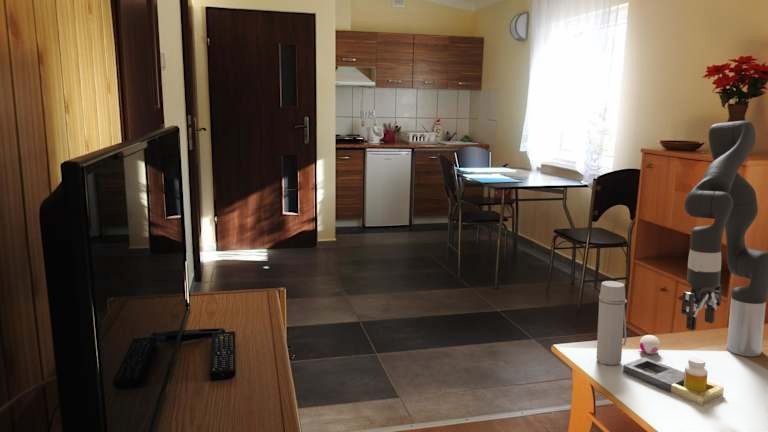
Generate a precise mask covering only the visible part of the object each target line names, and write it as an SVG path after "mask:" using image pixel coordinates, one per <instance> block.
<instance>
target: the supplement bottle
mask: <svg viewBox="0 0 768 432" xmlns="http://www.w3.org/2000/svg"><path fill="white" fill-rule="evenodd" d="M684 373H685V374H684V387H685V388H687V389H690V390H692V391H695V392H697V393H699V394H701V393H703V392H705V391H706V385H707V381H708V369H707V368H706V361H705V359H703V358H701V357H696V356H695V357H693V356H690V357H689V358H688V364H687V365H686V366H685V367H684Z"/></svg>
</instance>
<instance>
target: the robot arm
mask: <svg viewBox="0 0 768 432" xmlns="http://www.w3.org/2000/svg"><path fill="white" fill-rule="evenodd" d="M755 144H756V129H755V126H754V124H753V123H752V122H751V121H750V120H738V121H727V122H720V123H719V122H718V123H715V124H712V125H710V127H709V129H708V145H709V150H710V153H711V157H712V162H711V163H710V164H709V165H708V167H707V168H706V170H705V172H704V174H703V176H702V179H701V181H699V182H698V183H697V184H696V185H695V186H694V187H693V188H692V189H691V190H690V191H689V193H687V196H686V197H685V200H684V211H685V212H686V214H687V215H689V216H690V217H691V218H699V219H710V220H711V219H712V220H713V223H712V224H710V225H702V226H695V227H694V228H692V230H691V232H690V244H689V245H690V246H689V252H688V260H687V272H686V273H687V274H686V282H687V283H688V285H690V286H691V288H690V292H688V291H683V293H682V298H681V299H682V300H681V311H680V313H681V314H682V315H685V316H686V322H685V323H686V326H685V328H686V329H688V330H689V331H695V330H696V329H697V315H698V314H699V311H701V310H703V307H705V308H704V322H705V323H708V324H713V323H715V316H716V310H717V309H718V307H721V305H722V285H721V284H720V283H721V271H722V243H723V235H724V231H725V240H726V242H725V243H726V260H727V261H726V262H727V267H728V269H729V272H730V273H731V274H732V275H734V276H735V277H736V276H737V277H740V278H745V279H749V280H750V282H749V284H748V285H747V286H746V285H744V286H743V285H742V286H736V287H734V288H732V290H731V296H730V297H731V298H730V308H729V320H728V329H727V339H726V349H727V351H729V352H730V353H732V354H735V355H738V356H743V357H749V358H750V357H752V358H754V357H759V356H761V355H762V347H763V337H764V336H763V335H764V325H765V319H766V318H765V315H766V307H767V306H766V304H767V298H768V252H767V251H763V250H759V249H754V248H748V247H747V245H746V243H745V238H746V237H745V235H746V233H747V231H748V230H749V229H750V227H751V226H752V224H753V223H754V221H755V220H756V217H757V215H758V214H759V206H758V200H757V193H756V190H755V188H754V186H752V185H751V184H750V182H749V181H748V180H747V179H746V178H745V177H744V176H743V175H741V174H740V173H739V172H738V171H739V170H740V168H741V167H742V165H744V163H745V161H746V160H747V159H748V157H749V155H750V154H751V153H752V151H753V149H754V148H755Z"/></svg>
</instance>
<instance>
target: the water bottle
mask: <svg viewBox="0 0 768 432" xmlns="http://www.w3.org/2000/svg"><path fill="white" fill-rule="evenodd" d="M625 286H626V284H624V283H623V282H621V281H615V280H605V281H602V282H601V283H600V291H599V295H598V299H599V300H598V317H597V319H598V320H597V339H596V340H597V341H596V360H597V361H598V362H599V363H600V364H603V365H606V366H617V365H620V364H621V362H622V353H623V346H626V343H627V321H626V319H627V318H626V304H627V302H628V300H627V299H626V287H625ZM623 334H624V335H623ZM623 337H624V339H623Z"/></svg>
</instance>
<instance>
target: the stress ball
mask: <svg viewBox="0 0 768 432" xmlns="http://www.w3.org/2000/svg"><path fill="white" fill-rule="evenodd" d="M639 348H640V350H641V351H640V350H639V352H642V353H645V354H647V355H652V354H656V353H657V354H658V353H659V352H658V351H660V348H661V342H660V340H659V338H658V337H657V336H655V335H653V334H647V335H643V336H642V337H641V338H640V340H639Z"/></svg>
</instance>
